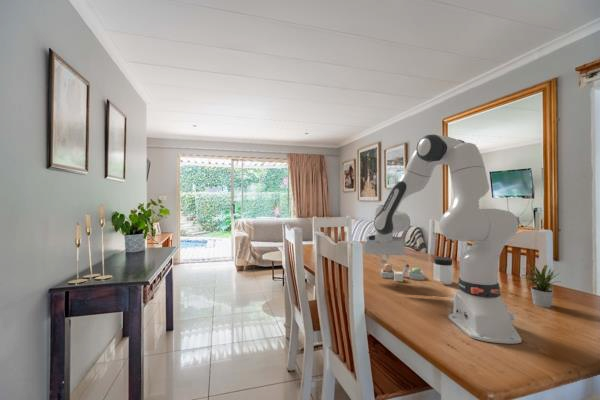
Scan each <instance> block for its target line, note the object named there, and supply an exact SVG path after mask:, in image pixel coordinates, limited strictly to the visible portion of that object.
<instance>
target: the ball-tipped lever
mask: <svg viewBox="0 0 600 400" xmlns="http://www.w3.org/2000/svg"><path fill="white" fill-rule="evenodd" d="M409 267H410V265H409V264H408V263H405V266H404V268H403V269H402V271H401V272H402V273H403V278H404V277H405V275H406V273H407V272H408V270H409Z"/></svg>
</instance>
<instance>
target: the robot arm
mask: <svg viewBox="0 0 600 400" xmlns="http://www.w3.org/2000/svg"><path fill="white" fill-rule="evenodd" d="M438 165H443V166H448V168H449V175H450V181H451V187H452V201H451V203H450V206H449V208H448V209H447V210H446V212H444V213H443V214H442V216H441V217H440V220H439V230H440V231H441V234H442V235H443V236H444V237H445V238H446V239H448V240H453V241H460V242H472V245H471V246H470V248H469V249H467V250H466V251H464V252H463V253H462V254H461V256H460V258H459V277H458V281H457V282H458V284H457V285H458V291H457V292H456V293H455V294H454V297H453V311H452V312H453V313H450V314H449V315H448V319H449V320H450V321H451V322H452V323H454V324H455V325H456V326H457V327H458V328H459V329H460V330H461V331H463V332H464V333H465V334H466V335H467V336H469V337H470V338H471V339H475V340H479V341H483V342H489V343H496V344H507V345H508V344H520V343H522V337H521V336H520V334H519V332H518V331H517V330H516V328H515V327H514V325H513V324H512V321H514V320H515V314H514V313H513V312H510V311H508V305H507V304H505V302H504V300H503V298H502V297H501V295H502V294H501V287H500V283H499V281H498V280H499V279H498V278H499V276H498V274H499V260H500V256H501V253H502V251H503V249H504V248H505V245H506V244H507V243H508V241H509V240H510V239H511V238H513V237H515V235H516V234H517V232H518V230H519V220H518V219H517V216H516V215H515V214H514V213H513V212H512V211H509V210H505V209H500V208H480V204H479V203H480V199H481V198H483V197H484V196H486V195H487V193H488V192H489V190H490V184H489V179H488V176H487V175H488V174H487V171H486V166H485V162H484V158H483V156H482V154H481V152H480V150H479V148H478V147H477V145H476V144H474V143H471V142H466V141H464V140H462V139H457V138H454V137H450V136H446V135H437V134H427V135H424V136H422V137H420V139H419V141H418V142H417V145H416V149H415V150H414V152H413V153H412V155H411V157H410V158H409V160H408V162H407V164H406V167H405V169H404V172H403V173H402V175H401V176H400V179H399V180H398V181H397V182H396V183H395V184H394V185H393V187H392V188H391V190H390V192H389V194H388V196H387V199H386V200H385V202H384V204H380V205H377V206H376V207H375V210H374V211H375V212H374V220H373V226H374V232H371V233H368V234H366V235H365V240H364V245H363V254H364V255H377V256H378V257H379V259H380V264H383V265H384V264H388V260H389V258H390V256H400V257H401V256H405V254H406V249H405V245H406V239H405V238H404V237H402V236H394V234H395V233H402V232H405V231H407V230H409V228H410V226H411V219H410V216H409V215H408V214H407V213H405V212H403V211H400V210H399V207H400V206H401V204H402V202H403V201H404V200H405V199H406V198H408V197H409V196H411V195H413V194H416V193H419V192H420V191H423V190H424V189H425V188H426V186H427V185H428V183H429V181H430V178H431V177H432V174H433V172H434V169H435V168H436V166H438ZM382 256H385V257H386V258H384V259H383V258H382Z"/></svg>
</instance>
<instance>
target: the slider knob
mask: <svg viewBox="0 0 600 400" xmlns="http://www.w3.org/2000/svg"><path fill="white" fill-rule="evenodd" d="M393 281H394V282H403V283H404V277H403V273H402V271H394V278H393Z"/></svg>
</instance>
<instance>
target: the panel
mask: <svg viewBox="0 0 600 400" xmlns="http://www.w3.org/2000/svg"><path fill="white" fill-rule="evenodd" d="M394 271H395V269H392V272H384V268H382V269H380V276H381V277H380V278H382V279H394ZM395 272H396V271H395ZM425 274H426V273H424V272H423V270H420V274H414V273H412V269H411V270H410V269H407V276H408V278H409V279H410V280H416V281H417V280H419V281H425V280H426V275H425Z"/></svg>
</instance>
